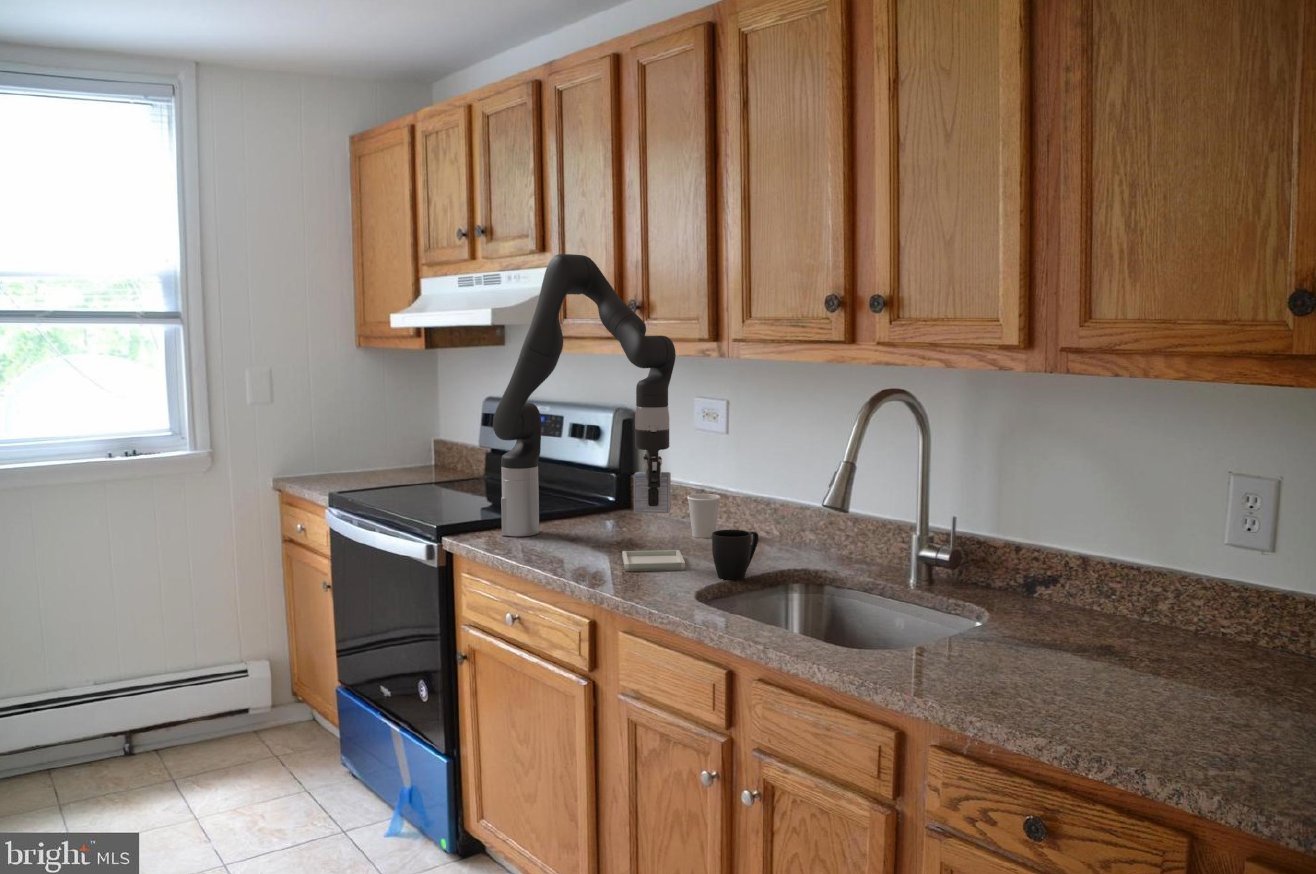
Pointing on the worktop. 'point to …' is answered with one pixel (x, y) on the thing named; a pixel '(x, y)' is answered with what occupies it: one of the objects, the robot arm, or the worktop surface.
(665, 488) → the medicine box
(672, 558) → the tray
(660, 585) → the worktop surface
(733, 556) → the mug
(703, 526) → the dixie cup
